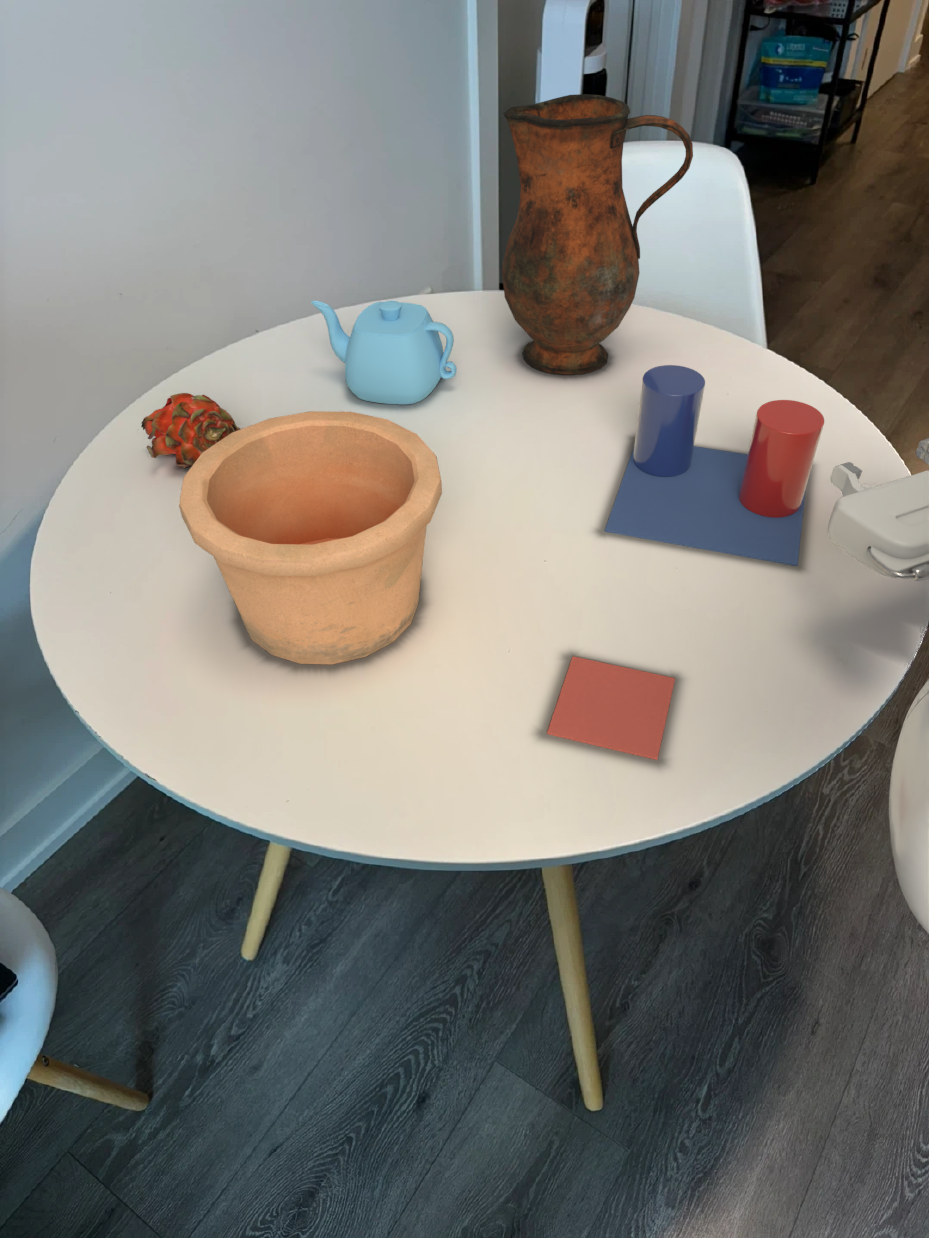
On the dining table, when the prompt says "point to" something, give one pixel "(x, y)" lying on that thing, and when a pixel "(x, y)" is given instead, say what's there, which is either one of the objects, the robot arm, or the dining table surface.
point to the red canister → (780, 457)
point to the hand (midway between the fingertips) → (881, 457)
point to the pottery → (317, 529)
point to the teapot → (391, 351)
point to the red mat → (613, 707)
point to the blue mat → (703, 510)
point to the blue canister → (668, 420)
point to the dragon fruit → (187, 427)
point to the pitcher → (574, 228)
